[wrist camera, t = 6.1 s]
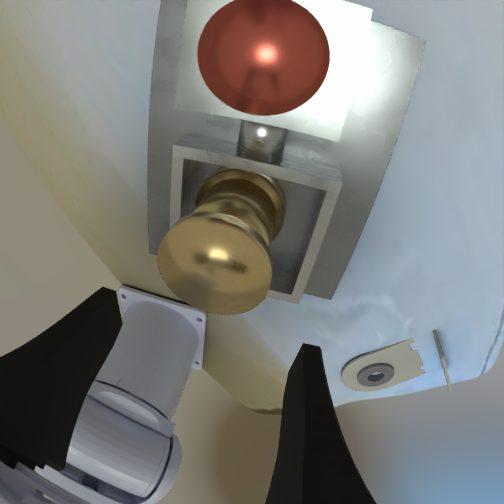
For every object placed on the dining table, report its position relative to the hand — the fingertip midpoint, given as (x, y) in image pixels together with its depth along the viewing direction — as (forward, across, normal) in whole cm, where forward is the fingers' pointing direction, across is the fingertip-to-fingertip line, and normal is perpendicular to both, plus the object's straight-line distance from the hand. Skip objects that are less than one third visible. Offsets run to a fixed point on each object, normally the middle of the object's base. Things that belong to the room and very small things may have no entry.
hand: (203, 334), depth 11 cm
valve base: (+10, 0, -4) cm, 10 cm away
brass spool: (+9, 0, 0) cm, 9 cm away
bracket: (+10, -16, +12) cm, 22 cm away
